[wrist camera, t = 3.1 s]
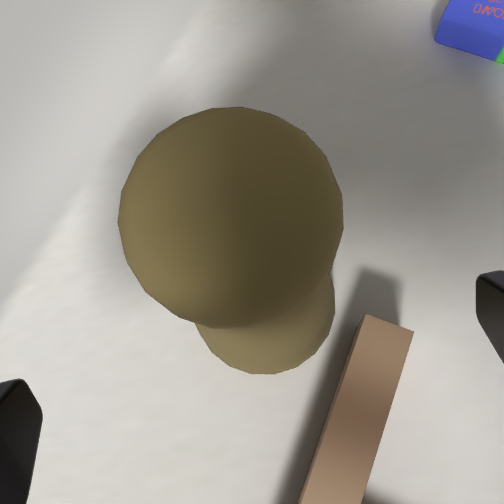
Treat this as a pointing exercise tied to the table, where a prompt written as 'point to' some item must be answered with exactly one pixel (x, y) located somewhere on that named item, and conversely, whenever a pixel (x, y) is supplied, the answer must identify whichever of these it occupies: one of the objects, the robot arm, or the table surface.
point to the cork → (237, 234)
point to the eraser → (474, 27)
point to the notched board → (357, 414)
